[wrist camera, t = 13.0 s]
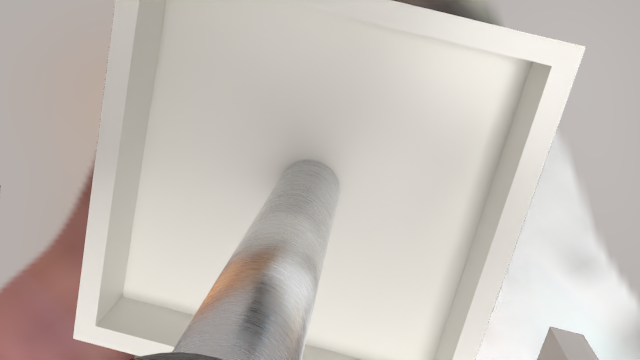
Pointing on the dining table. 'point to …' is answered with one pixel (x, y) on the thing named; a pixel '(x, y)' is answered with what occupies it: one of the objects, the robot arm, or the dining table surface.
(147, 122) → the tray
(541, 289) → the dining table surface
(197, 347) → the steel pin
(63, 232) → the dining table surface
